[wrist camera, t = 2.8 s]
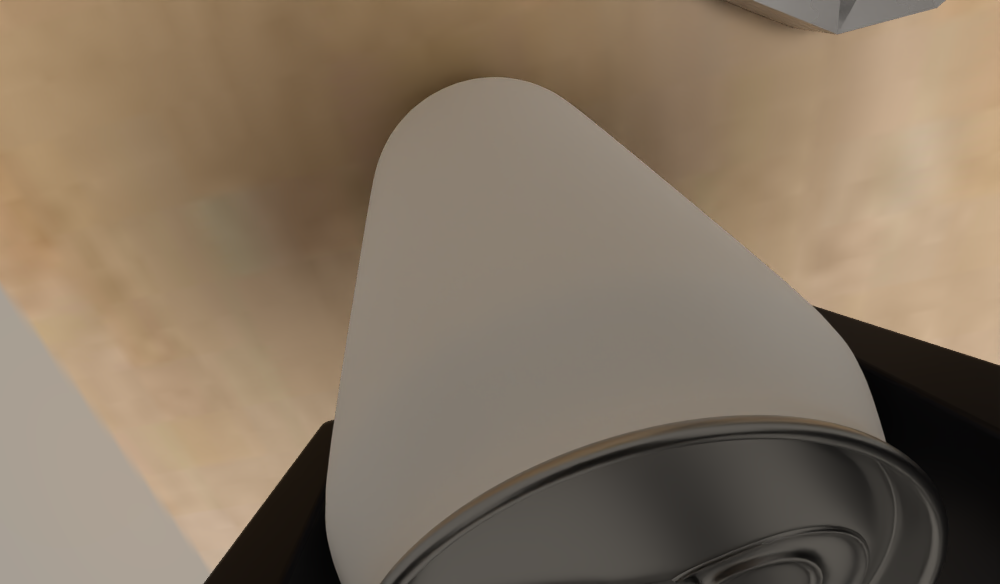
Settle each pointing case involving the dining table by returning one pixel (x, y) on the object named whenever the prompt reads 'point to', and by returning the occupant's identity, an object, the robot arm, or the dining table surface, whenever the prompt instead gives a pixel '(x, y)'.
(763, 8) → the shaft seat
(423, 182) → the can
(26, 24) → the dining table surface
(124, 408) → the dining table surface
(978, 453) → the robot arm
